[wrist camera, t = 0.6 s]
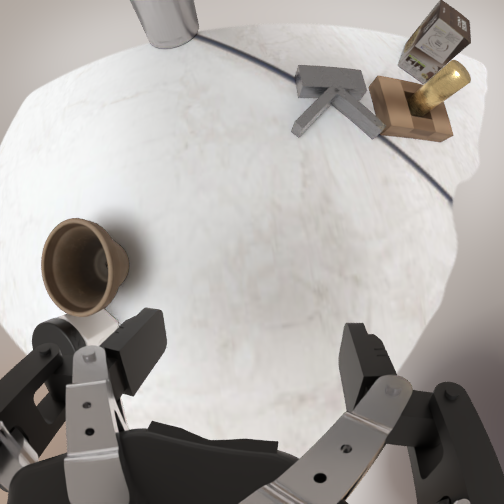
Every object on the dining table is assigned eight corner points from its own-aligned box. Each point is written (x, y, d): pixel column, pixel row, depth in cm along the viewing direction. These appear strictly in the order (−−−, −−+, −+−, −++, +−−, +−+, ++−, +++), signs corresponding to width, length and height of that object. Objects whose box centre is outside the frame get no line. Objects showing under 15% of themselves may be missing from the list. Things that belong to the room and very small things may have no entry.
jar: (119, 361, 37) (82, 396, 25) (77, 348, 37) (35, 374, 25) (120, 307, 37) (77, 329, 25) (77, 296, 37) (29, 311, 25)
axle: (395, 104, 37) (446, 56, 21) (412, 106, 37) (464, 64, 21) (400, 122, 37) (456, 79, 21) (417, 124, 37) (474, 86, 21)
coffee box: (424, 85, 37) (471, 44, 21) (396, 65, 37) (438, 17, 21) (430, 60, 37) (470, 21, 21) (405, 42, 37) (441, -3, 21)
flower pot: (69, 251, 37) (28, 253, 27) (119, 208, 37) (83, 198, 27) (103, 315, 37) (67, 333, 27) (159, 276, 37) (130, 286, 27)
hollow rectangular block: (368, 87, 37) (377, 75, 33) (428, 98, 37) (439, 89, 33) (380, 135, 37) (391, 125, 33) (440, 142, 38) (453, 135, 34)
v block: (282, 77, 37) (285, 64, 33) (363, 82, 37) (371, 71, 34) (291, 137, 37) (295, 128, 34) (377, 139, 37) (387, 131, 34)
